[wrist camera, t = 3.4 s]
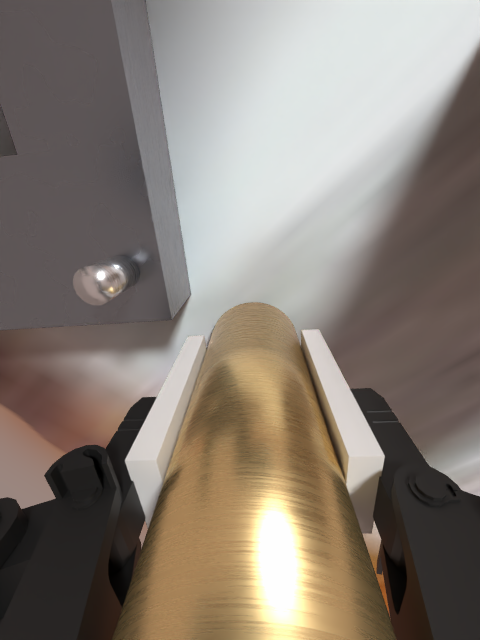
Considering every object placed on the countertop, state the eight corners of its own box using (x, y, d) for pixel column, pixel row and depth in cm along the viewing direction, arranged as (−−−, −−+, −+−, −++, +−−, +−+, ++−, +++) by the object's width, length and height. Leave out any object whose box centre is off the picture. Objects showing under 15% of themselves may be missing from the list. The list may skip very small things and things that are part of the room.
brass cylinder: (206, 305, 13) (-15, 772, 2) (296, 299, 13) (529, 814, 2) (217, 379, 15) (115, 854, 4) (296, 376, 15) (424, 884, 4)
